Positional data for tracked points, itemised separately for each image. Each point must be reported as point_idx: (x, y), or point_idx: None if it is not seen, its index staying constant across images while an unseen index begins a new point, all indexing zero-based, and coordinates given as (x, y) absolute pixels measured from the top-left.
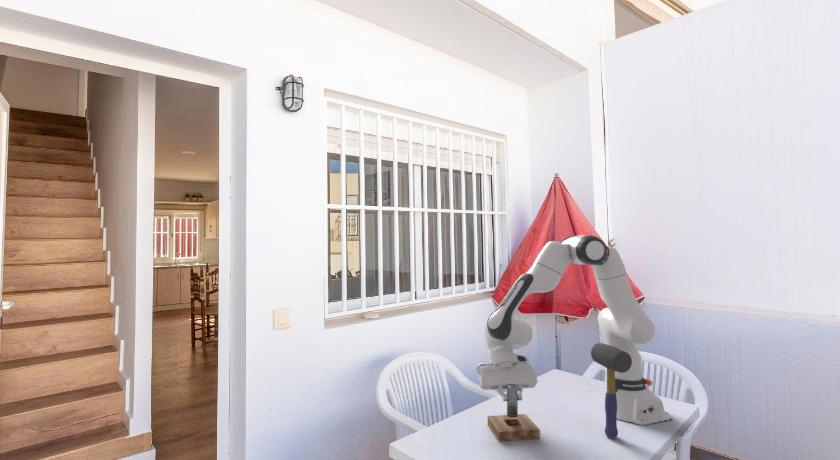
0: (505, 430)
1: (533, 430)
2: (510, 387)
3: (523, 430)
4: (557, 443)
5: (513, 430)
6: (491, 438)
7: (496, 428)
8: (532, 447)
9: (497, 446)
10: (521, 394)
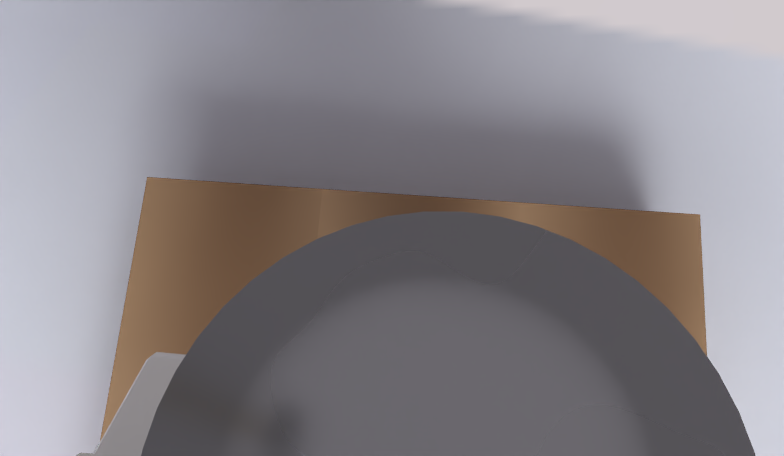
0: (596, 233)
1: (232, 183)
2: (643, 297)
3: (363, 192)
4: (62, 91)
5: (492, 213)
6: (716, 322)
7: (699, 309)
8: (352, 68)
9: (697, 149)
10: (112, 428)
